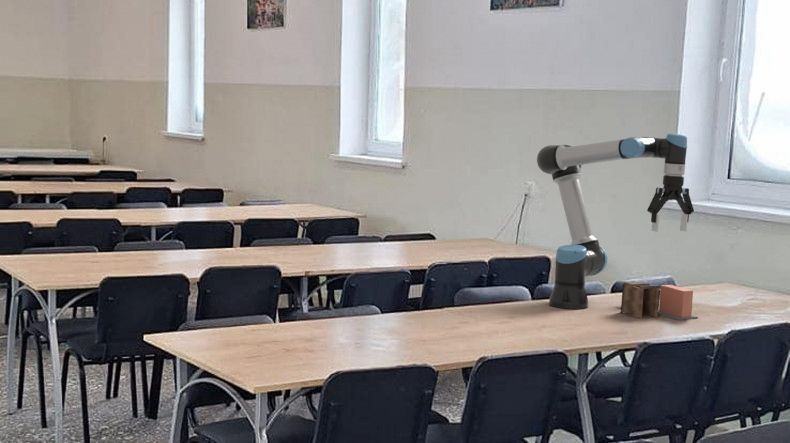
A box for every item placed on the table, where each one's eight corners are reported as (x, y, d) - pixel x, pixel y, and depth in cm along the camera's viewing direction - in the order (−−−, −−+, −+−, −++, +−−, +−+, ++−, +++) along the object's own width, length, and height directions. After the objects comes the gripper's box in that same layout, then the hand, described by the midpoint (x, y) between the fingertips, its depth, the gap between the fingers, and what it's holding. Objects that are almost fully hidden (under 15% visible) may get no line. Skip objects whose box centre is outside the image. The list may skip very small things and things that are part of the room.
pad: (652, 312, 378) (652, 310, 378) (673, 311, 382) (673, 309, 382) (676, 319, 366) (676, 318, 366) (697, 318, 370) (697, 316, 370)
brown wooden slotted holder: (620, 312, 376) (622, 281, 375) (638, 311, 380) (640, 280, 379) (639, 317, 367) (641, 286, 365) (657, 316, 370) (659, 285, 369)
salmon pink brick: (659, 310, 379) (660, 285, 378) (668, 310, 381) (670, 284, 380) (681, 317, 367) (683, 291, 366) (691, 316, 369) (693, 290, 368)
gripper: (653, 175, 360) (648, 232, 363) (706, 176, 370) (701, 232, 373) (640, 173, 367) (636, 229, 369) (693, 174, 377) (688, 229, 380)
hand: (669, 231), depth 371 cm, fingers open, 13 cm apart
